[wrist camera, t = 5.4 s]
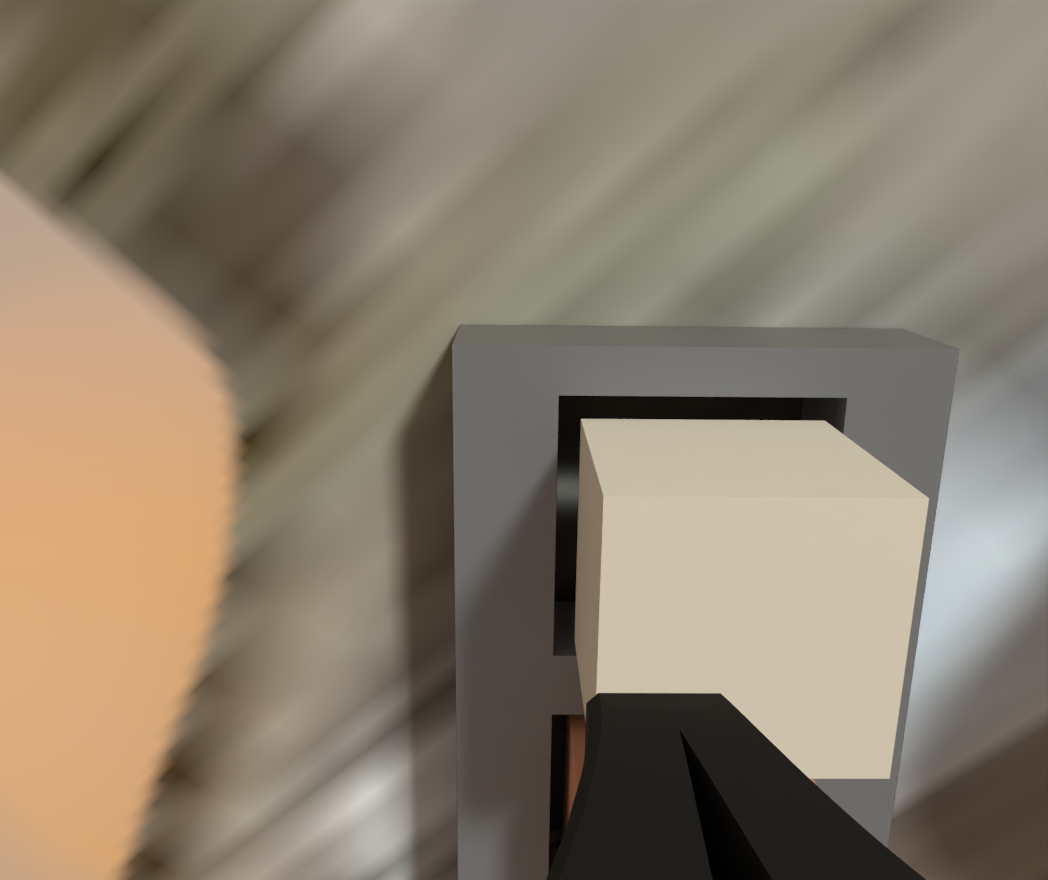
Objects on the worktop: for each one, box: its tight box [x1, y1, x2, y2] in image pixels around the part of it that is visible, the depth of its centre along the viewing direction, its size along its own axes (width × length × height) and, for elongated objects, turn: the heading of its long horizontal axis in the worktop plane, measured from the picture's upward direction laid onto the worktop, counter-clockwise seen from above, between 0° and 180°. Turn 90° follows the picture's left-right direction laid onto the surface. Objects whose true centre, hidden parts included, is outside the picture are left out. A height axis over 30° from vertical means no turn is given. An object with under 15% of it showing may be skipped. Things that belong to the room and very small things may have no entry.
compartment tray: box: [452, 325, 959, 880], centre depth 20 cm, size 20×9×2 cm, turn 179°
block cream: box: [574, 419, 929, 779], centre depth 15 cm, size 4×4×4 cm
